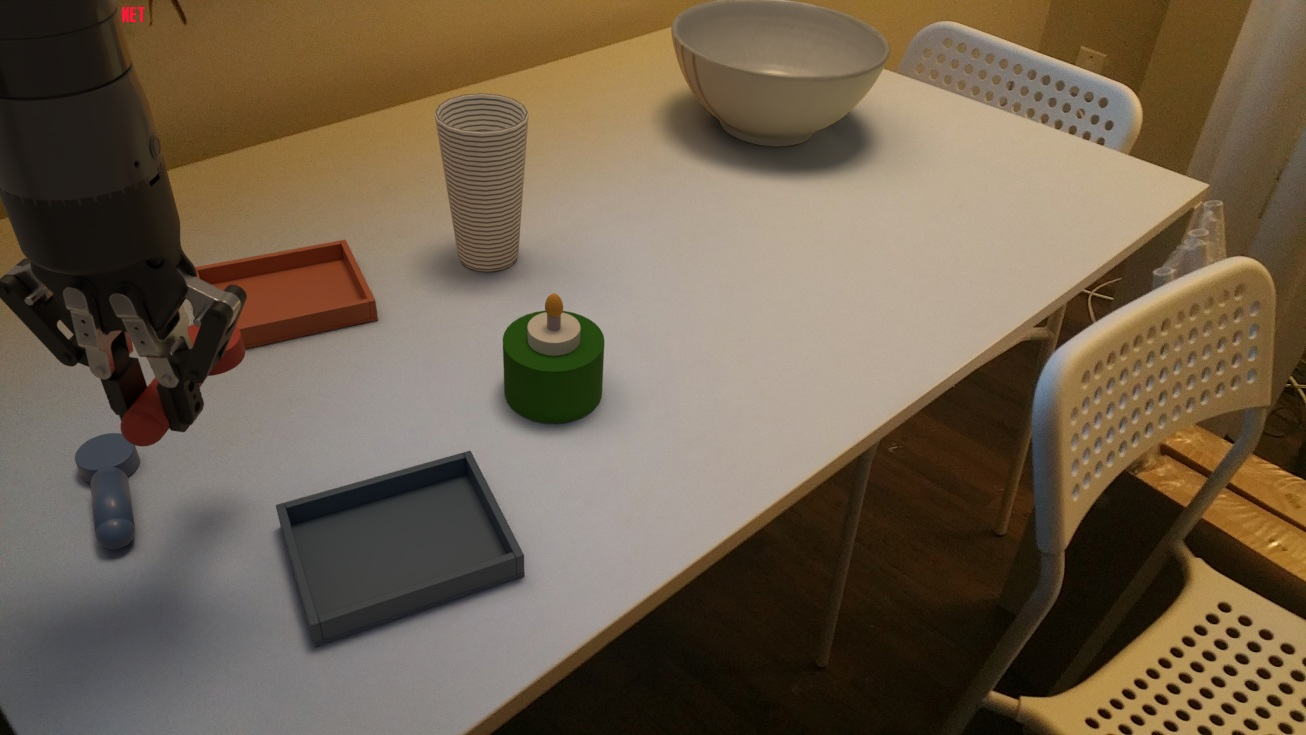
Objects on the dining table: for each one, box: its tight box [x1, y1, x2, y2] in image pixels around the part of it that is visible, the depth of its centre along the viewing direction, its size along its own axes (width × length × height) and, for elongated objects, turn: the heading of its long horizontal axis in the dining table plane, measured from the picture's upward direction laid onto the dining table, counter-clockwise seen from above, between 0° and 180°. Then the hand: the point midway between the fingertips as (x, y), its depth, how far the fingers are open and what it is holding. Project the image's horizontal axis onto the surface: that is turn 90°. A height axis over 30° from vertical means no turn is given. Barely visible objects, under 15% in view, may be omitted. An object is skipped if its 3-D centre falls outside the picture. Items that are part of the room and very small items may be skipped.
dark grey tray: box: [275, 450, 526, 647], centre depth 69 cm, size 14×11×2 cm
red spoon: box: [120, 323, 246, 447], centre depth 61 cm, size 11×4×2 cm, turn 174°
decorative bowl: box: [670, 0, 891, 147], centre depth 124 cm, size 27×27×12 cm
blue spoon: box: [74, 432, 141, 550], centre depth 70 cm, size 11×4×2 cm, turn 27°
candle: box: [502, 292, 605, 425], centre depth 81 cm, size 8×8×10 cm
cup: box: [433, 92, 530, 273], centre depth 95 cm, size 8×8×16 cm
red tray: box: [195, 239, 379, 350], centre depth 90 cm, size 14×11×2 cm
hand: (162, 418), depth 59 cm, fingers closed on red spoon, 2 cm apart
